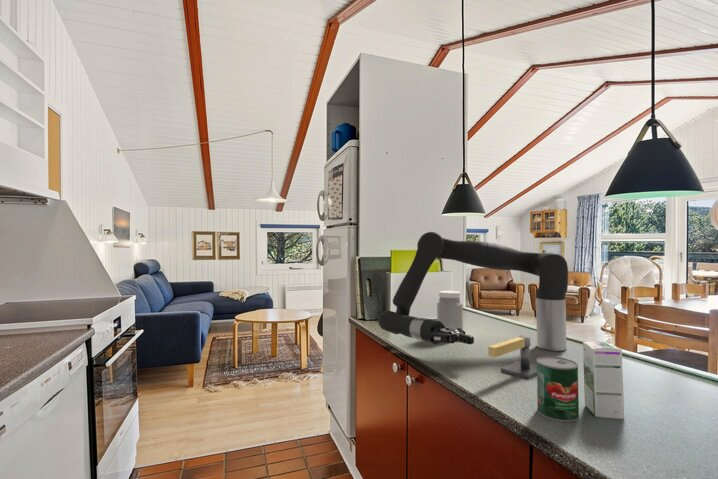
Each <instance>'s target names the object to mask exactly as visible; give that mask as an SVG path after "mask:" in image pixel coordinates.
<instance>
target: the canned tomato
mask: <svg viewBox="0 0 718 479" xmlns="http://www.w3.org/2000/svg"><path fill="white" fill-rule="evenodd" d="M536 365H537V376H536V381H537V382H536V383H537V385H536V387H537V389H536V390H537V391H536V392H537V396H536V397H537V408H536V409H537V413H538V414H539V415H540V416H542V417H543V418H545V419H549V420H551V421H556V422H562V423H573V422H577V421H578V420H579V419H580V414H579V412H580V407H579V406H580V405H579V404H580V403H579V364H578V363H577V362H576V361H574V360H572V359H568V358H565V357H559V356H541V357H538V358H536Z"/></svg>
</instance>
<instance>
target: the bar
mask: <svg viewBox="0 0 718 479" xmlns="http://www.w3.org/2000/svg"><path fill="white" fill-rule="evenodd" d="M525 346H529V347H531V336H529V335H518V336H517V337H515V338H511V339H508V340H504V341H501V342H498V343H495V344H492V345H488V346H487V348H488V349H487V350H488V357H492V358H497V357H498V358H499V357H500V356H504V355H506V354H509V353H512V352H514V351H518V350H520V349H521V348H523V347H525Z"/></svg>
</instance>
